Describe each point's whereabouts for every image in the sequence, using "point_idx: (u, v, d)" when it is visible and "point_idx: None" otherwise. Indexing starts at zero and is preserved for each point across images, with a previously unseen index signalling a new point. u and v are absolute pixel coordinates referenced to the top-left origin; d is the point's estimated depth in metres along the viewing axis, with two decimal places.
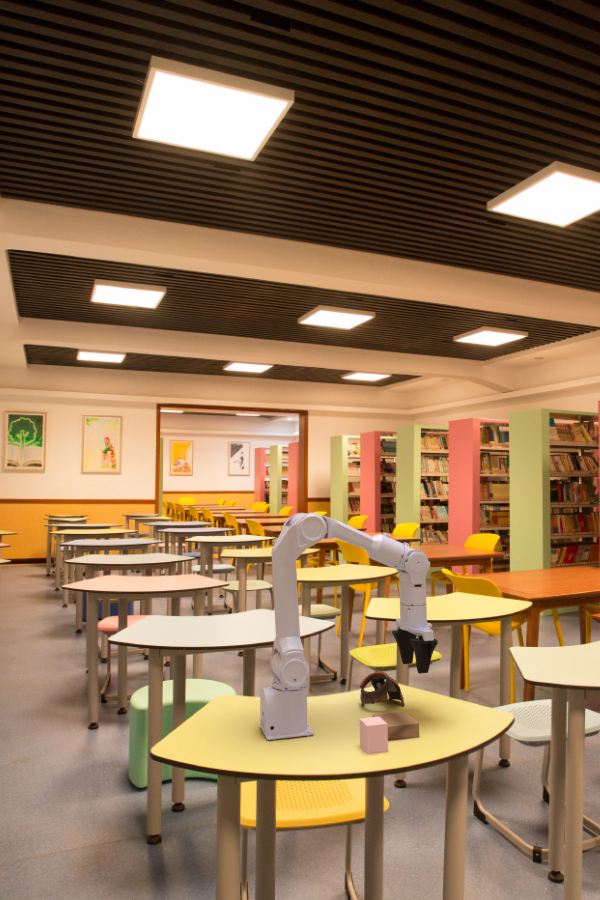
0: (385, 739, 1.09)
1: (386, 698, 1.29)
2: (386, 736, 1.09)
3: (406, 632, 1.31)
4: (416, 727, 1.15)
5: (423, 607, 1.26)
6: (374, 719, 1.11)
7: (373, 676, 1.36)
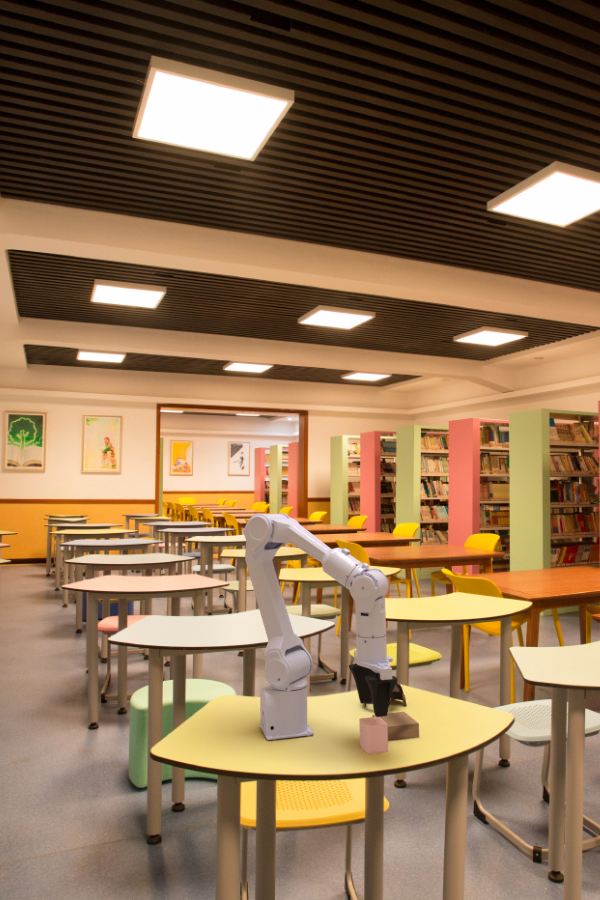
0: (385, 739, 1.09)
1: None
2: (386, 736, 1.09)
3: (364, 666, 1.15)
4: (416, 727, 1.15)
5: (382, 639, 1.10)
6: (374, 719, 1.11)
7: None
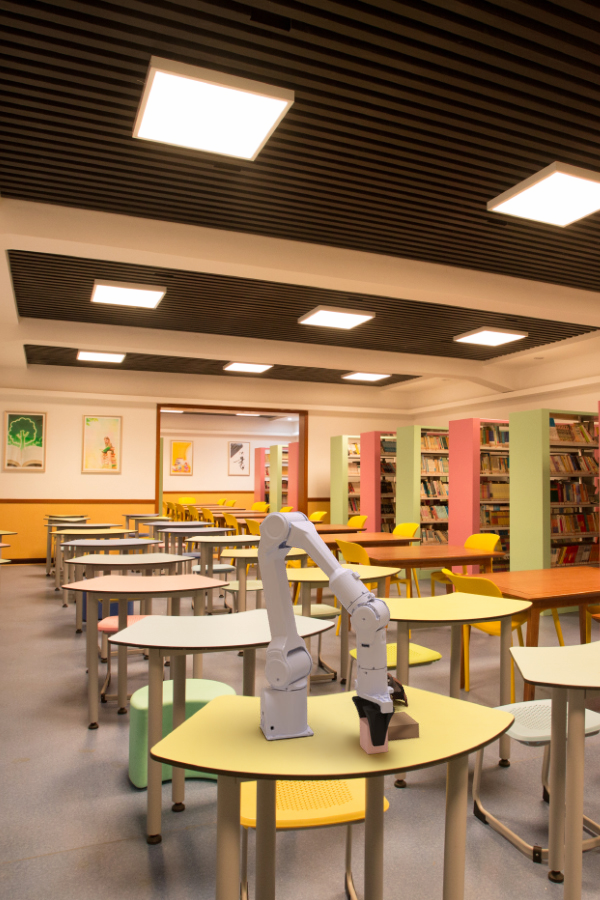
0: (385, 739, 1.09)
1: (390, 698, 1.29)
2: (386, 736, 1.09)
3: None
4: (416, 727, 1.15)
5: (383, 670, 1.09)
6: None
7: None
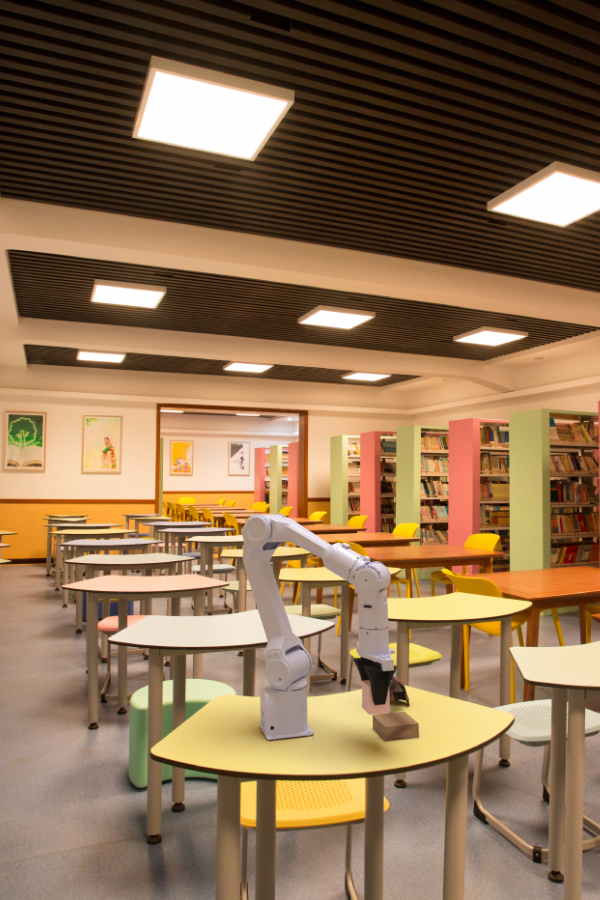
0: (387, 700, 1.10)
1: (392, 698, 1.29)
2: (388, 697, 1.10)
3: (369, 660, 1.14)
4: (416, 727, 1.15)
5: (384, 631, 1.11)
6: None
7: None
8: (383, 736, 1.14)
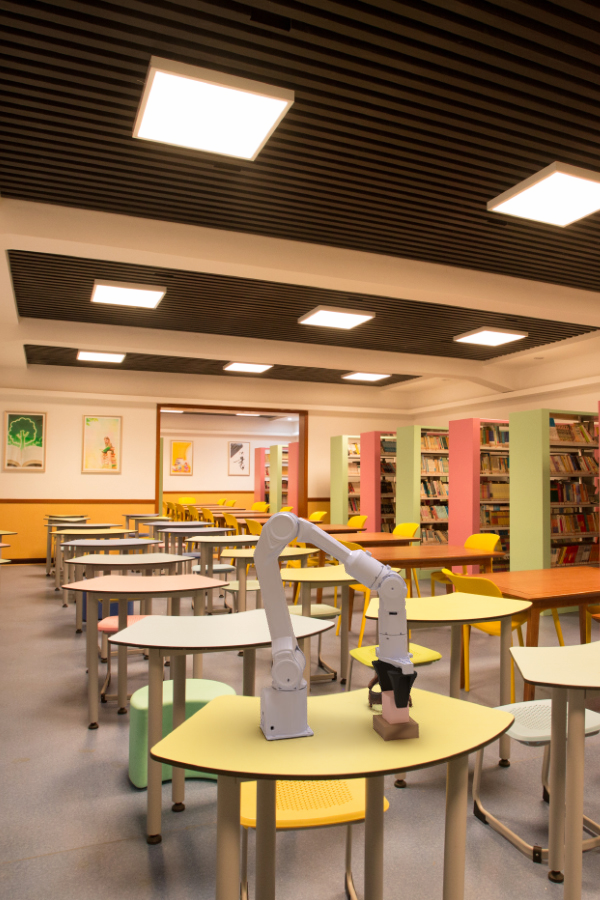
0: (406, 710, 1.16)
1: None
2: (407, 707, 1.16)
3: (386, 662, 1.22)
4: (416, 727, 1.15)
5: (403, 636, 1.17)
6: None
7: None
8: (383, 736, 1.14)
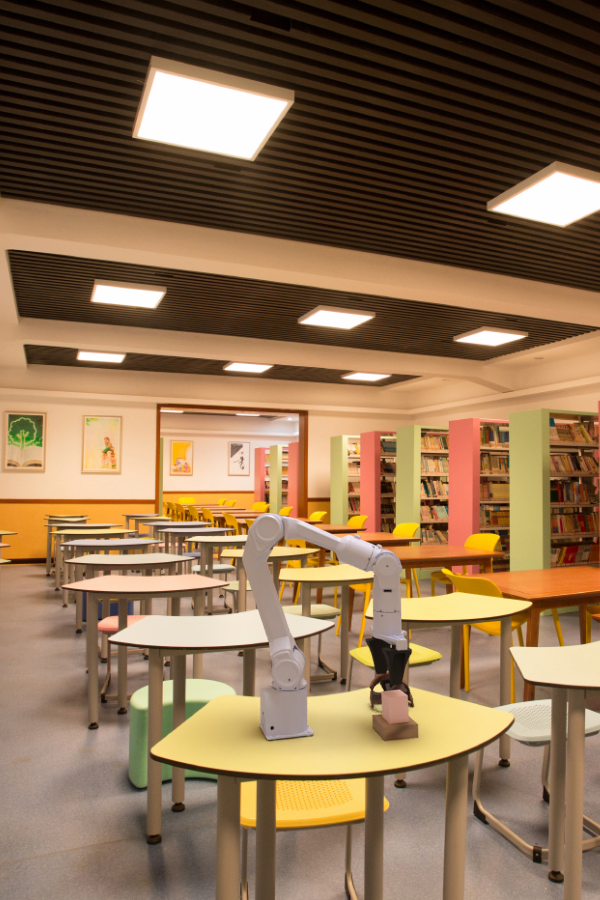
0: (406, 710, 1.16)
1: None
2: (407, 707, 1.16)
3: (380, 640, 1.23)
4: (415, 728, 1.15)
5: (397, 614, 1.18)
6: (395, 692, 1.19)
7: (382, 677, 1.35)
8: (382, 736, 1.14)
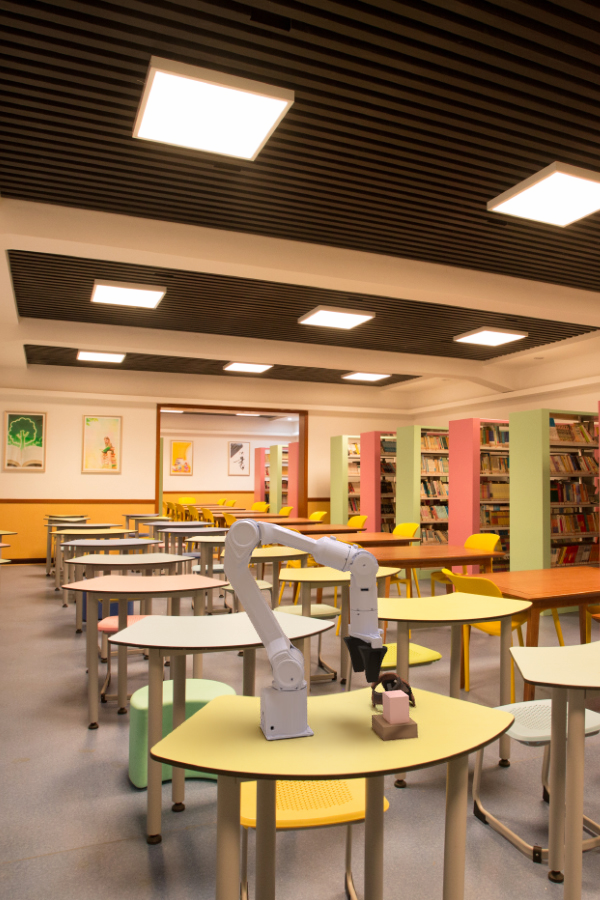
0: (407, 710, 1.16)
1: None
2: (407, 707, 1.16)
3: (357, 638, 1.24)
4: (415, 727, 1.15)
5: (373, 612, 1.19)
6: (396, 692, 1.19)
7: (384, 677, 1.35)
8: (382, 736, 1.14)
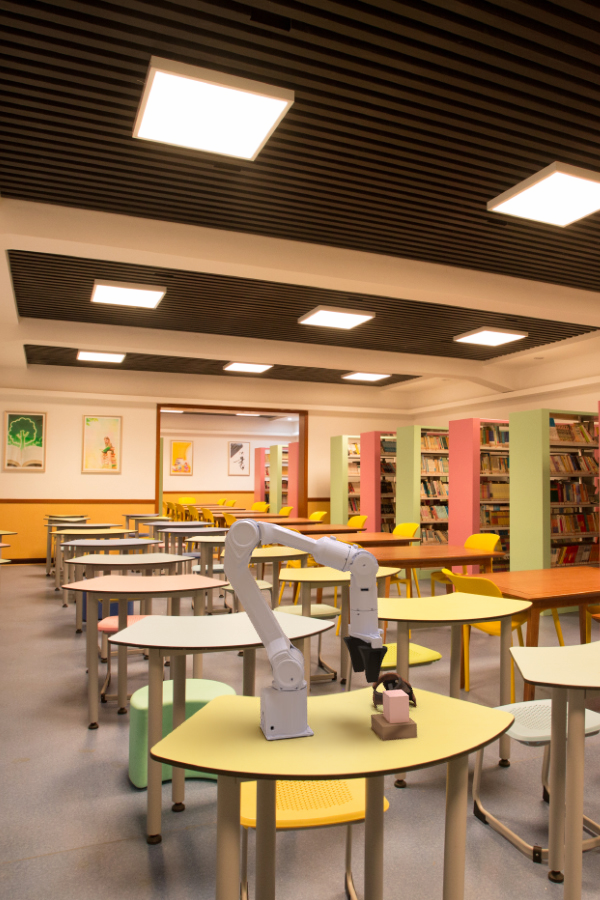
0: (406, 710, 1.16)
1: None
2: (407, 707, 1.16)
3: (357, 638, 1.24)
4: (414, 727, 1.15)
5: (373, 612, 1.19)
6: (396, 691, 1.19)
7: (385, 677, 1.35)
8: (381, 736, 1.14)
